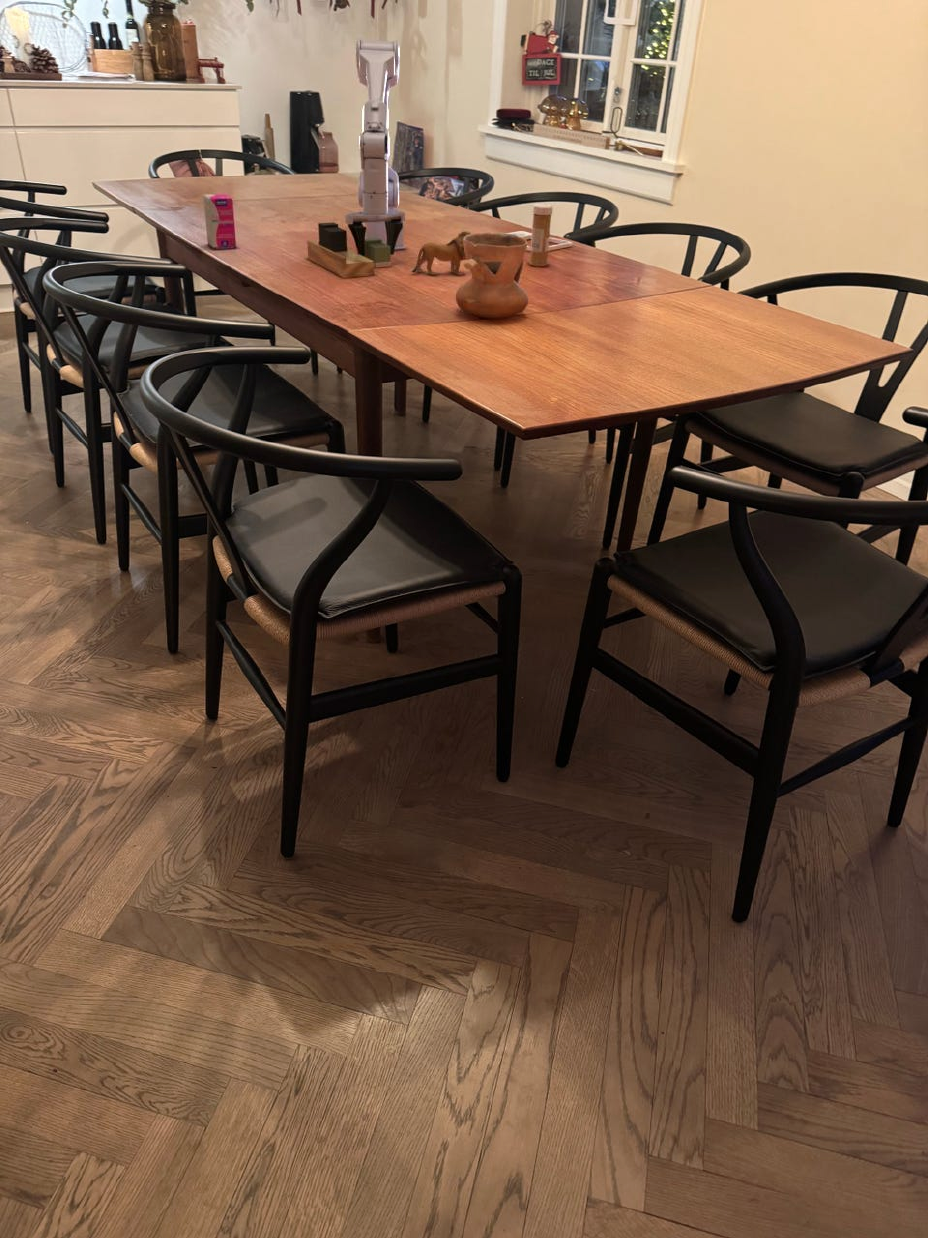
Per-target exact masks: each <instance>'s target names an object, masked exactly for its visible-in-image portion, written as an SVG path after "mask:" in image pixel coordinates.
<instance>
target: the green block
mask: <svg viewBox="0 0 928 1238" xmlns="http://www.w3.org/2000/svg"><path fill="white" fill-rule="evenodd" d="M391 256H392V255H391V254H390V246H388V245H386V244H384V243H382V240H381V239H378V238H366V239H365V257H366V258H368V259H370V260H372V261H374V269H375V268H376V269H377V268H388V267H391V266H392V262H391V259H392V257H391Z"/></svg>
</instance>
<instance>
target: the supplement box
mask: <svg viewBox="0 0 928 1238" xmlns="http://www.w3.org/2000/svg"><path fill="white" fill-rule="evenodd" d="M202 200H203V201H202V202H203V211H204V220H205V230H206V231H205V233H206V241H207V245H208V246H209V247H210V248H211V249H212V250H227V249H237V238H236V228H235V227H236V225H235V215H234V214H235V213H234V203H233V198H232V197H231V196H229V195H228V194H227V193H207V194H206V193H205V194H204V193H203V194H202Z"/></svg>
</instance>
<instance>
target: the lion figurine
mask: <svg viewBox="0 0 928 1238" xmlns="http://www.w3.org/2000/svg"><path fill="white" fill-rule="evenodd" d="M470 234H472V232H470V231H468V230H463V231H461V232H460V233H458V235H457V236H456V237H455V238H452V240H450V241H449V242H447V243H445V244H442V243H436V242H433V241H432V242H431V241H429V242H426V243H424V244H423V245H422V246H421V248H420V249H419V252H418V254H417V259H416V264H415V266H414V268H413V269H412V270H411V273H416V272H418V273H423V271H424V270H423V268H421V266H422V265H423V264H425V263H427V265H426V269H427V271H428V272H429V276H436V275H437V274H436V272H435V271H433V269H432V266H433V263H434V261H435V259H437V260H438V261H440V262H450V272H451V273H453V274H455V275H456V276H462V272H460V267H461V262H462V261H467V260H466V256H465V252H464V246H463V238H464V237H465V236H467V235H470Z"/></svg>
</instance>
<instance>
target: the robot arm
mask: <svg viewBox="0 0 928 1238" xmlns="http://www.w3.org/2000/svg"><path fill="white" fill-rule="evenodd" d="M355 67H356V71H357V78H358V81H359V84H362V85H363V86H365V87H366V88H367V98H368V99H367V101H366V102H365V103H364V104H363V106H362V124H361V125H362V126H361V133H360V135H359V139H358V140H359V141H358V145H359V149H358V150H359V157H360V169H361V170H360V172H359V174H358V183H357V184H358V185H357V186H358V187H357V188H358V189H357V193H358V194H357V195H358V196H357V197H358V205H359V206H360V208H362V211H358V212H357V211H356V212H350V213H349V212H348V213H345V214H344V223H345V224H347V228H348V229H349V231H350V233H351V236H352V238H353V241H354V244H355V247H356V253H357V254H360V255H362V256H364V257H365V239H366V238H378V239H381V240H382V243H384V244H386V245H388V246H390V254H391V256H394V254H395V251H396V250H406V246H405V222H406V211H404V210H400V209H398V207H400V182H399V175H398V173H397V171H396V170H394V169H393V168H392V167H390V165H388V164H389V163H388V162H389V160H390V154H391V152H390V150H391V144H390V143H391V141H390V133H389V107H388V106H389V104H388V102H389V101H388V100H389V95H390V91H391V88H393V87H394V86H397V85H398V83H399V79H400V43H399V41H398V40H393V41H391V40H372V39H361V38H357V40H356V42H355Z"/></svg>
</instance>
